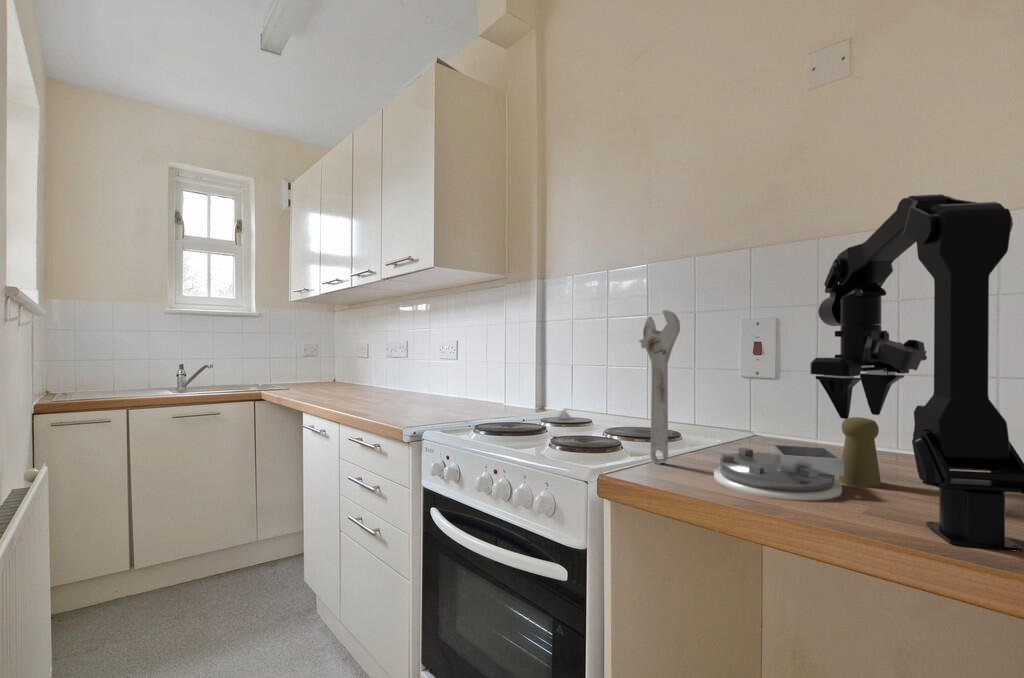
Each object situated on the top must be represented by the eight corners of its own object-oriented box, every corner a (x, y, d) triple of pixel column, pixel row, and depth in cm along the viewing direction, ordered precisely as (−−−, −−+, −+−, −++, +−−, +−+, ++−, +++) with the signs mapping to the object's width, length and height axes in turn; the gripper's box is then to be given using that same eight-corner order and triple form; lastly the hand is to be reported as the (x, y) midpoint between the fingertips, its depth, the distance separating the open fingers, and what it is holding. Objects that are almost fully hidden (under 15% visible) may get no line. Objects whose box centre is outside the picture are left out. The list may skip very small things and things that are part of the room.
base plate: (860, 508, 72) (860, 499, 72) (718, 495, 78) (718, 487, 78) (822, 473, 91) (822, 466, 91) (710, 465, 96) (710, 458, 96)
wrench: (637, 460, 100) (638, 310, 100) (642, 458, 102) (642, 311, 102) (675, 467, 95) (676, 309, 95) (680, 465, 96) (680, 309, 96)
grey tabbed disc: (725, 485, 79) (725, 457, 79) (716, 460, 95) (716, 436, 95) (853, 496, 74) (853, 466, 74) (820, 467, 90) (820, 442, 90)
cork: (867, 477, 88) (867, 415, 88) (890, 488, 82) (890, 421, 82) (831, 476, 89) (831, 414, 89) (851, 487, 83) (851, 420, 83)
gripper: (882, 322, 74) (882, 428, 74) (946, 324, 82) (945, 419, 82) (808, 324, 84) (808, 417, 84) (872, 326, 92) (871, 410, 92)
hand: (860, 416), depth 85 cm, fingers open, 9 cm apart
